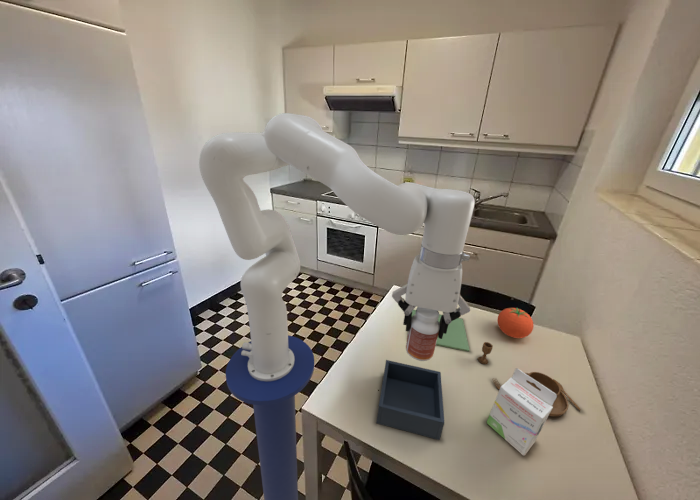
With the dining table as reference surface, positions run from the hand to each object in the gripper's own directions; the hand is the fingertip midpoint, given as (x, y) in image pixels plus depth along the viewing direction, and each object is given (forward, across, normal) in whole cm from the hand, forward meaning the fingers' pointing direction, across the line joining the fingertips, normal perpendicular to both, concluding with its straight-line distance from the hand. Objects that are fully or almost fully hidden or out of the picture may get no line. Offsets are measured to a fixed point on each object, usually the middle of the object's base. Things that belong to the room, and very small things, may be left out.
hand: (423, 330), depth 60 cm
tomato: (+20, -32, -34) cm, 51 cm away
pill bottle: (+6, 0, 0) cm, 6 cm away
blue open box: (+21, 0, +2) cm, 21 cm away
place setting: (+20, -30, -13) cm, 38 cm away
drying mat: (+20, -8, -29) cm, 36 cm away
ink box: (+20, -22, +3) cm, 30 cm away
